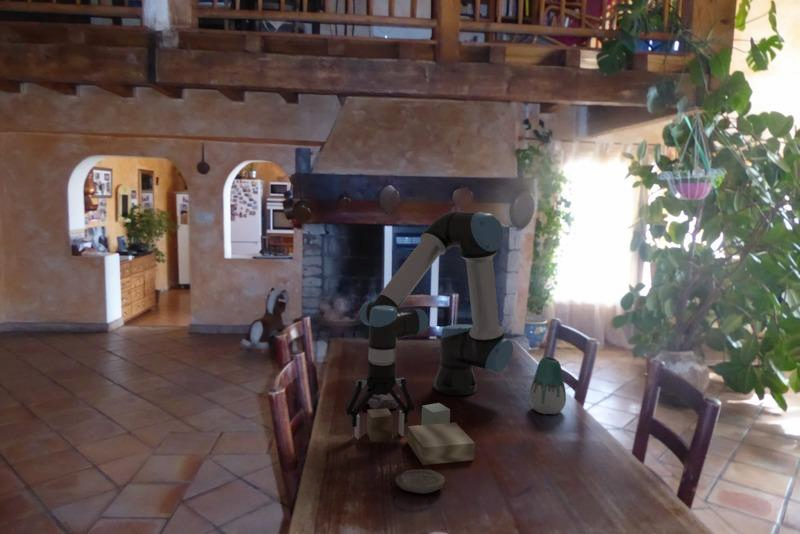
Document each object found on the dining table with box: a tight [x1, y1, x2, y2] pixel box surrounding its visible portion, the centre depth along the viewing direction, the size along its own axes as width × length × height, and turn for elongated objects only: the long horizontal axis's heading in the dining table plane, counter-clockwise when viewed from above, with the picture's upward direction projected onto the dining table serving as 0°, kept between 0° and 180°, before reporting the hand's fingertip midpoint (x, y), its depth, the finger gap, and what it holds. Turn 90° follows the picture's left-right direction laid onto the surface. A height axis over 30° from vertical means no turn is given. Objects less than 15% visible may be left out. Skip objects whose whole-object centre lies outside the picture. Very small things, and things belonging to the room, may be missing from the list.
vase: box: [528, 356, 567, 415], centre depth 188 cm, size 12×12×18 cm
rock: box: [366, 393, 401, 410], centre depth 188 cm, size 8×11×5 cm
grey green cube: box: [420, 402, 451, 425], centre depth 172 cm, size 6×6×6 cm
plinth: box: [406, 422, 476, 466], centre depth 156 cm, size 14×14×5 cm
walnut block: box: [366, 408, 394, 443], centre depth 164 cm, size 6×6×7 cm
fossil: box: [395, 469, 446, 494], centre depth 136 cm, size 10×12×3 cm
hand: (379, 435), depth 164 cm, fingers open, 12 cm apart
